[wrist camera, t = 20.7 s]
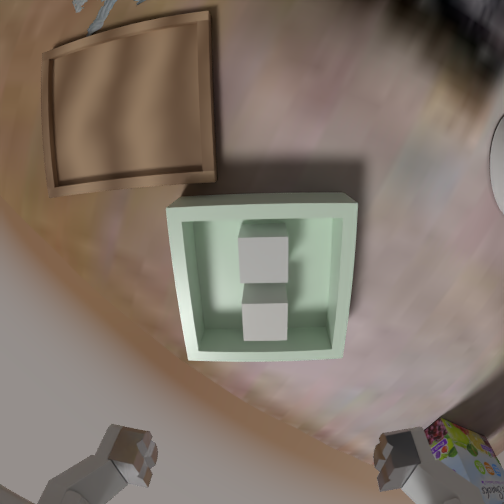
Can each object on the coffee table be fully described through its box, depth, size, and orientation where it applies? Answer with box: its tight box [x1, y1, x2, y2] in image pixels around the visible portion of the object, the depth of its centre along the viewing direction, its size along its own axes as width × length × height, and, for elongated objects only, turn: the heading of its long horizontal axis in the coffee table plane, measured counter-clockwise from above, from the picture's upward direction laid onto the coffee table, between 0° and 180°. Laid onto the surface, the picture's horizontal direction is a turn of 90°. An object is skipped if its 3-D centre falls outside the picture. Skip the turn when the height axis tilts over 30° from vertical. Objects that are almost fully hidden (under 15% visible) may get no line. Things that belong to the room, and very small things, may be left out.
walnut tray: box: [41, 11, 217, 198], centre depth 26 cm, size 18×16×2 cm
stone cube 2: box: [238, 223, 288, 283], centre depth 28 cm, size 4×4×4 cm
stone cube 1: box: [242, 283, 288, 341], centre depth 30 cm, size 4×4×4 cm
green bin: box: [166, 192, 358, 362], centre depth 29 cm, size 15×15×5 cm
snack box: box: [424, 417, 504, 504], centre depth 31 cm, size 22×9×26 cm, turn 57°
